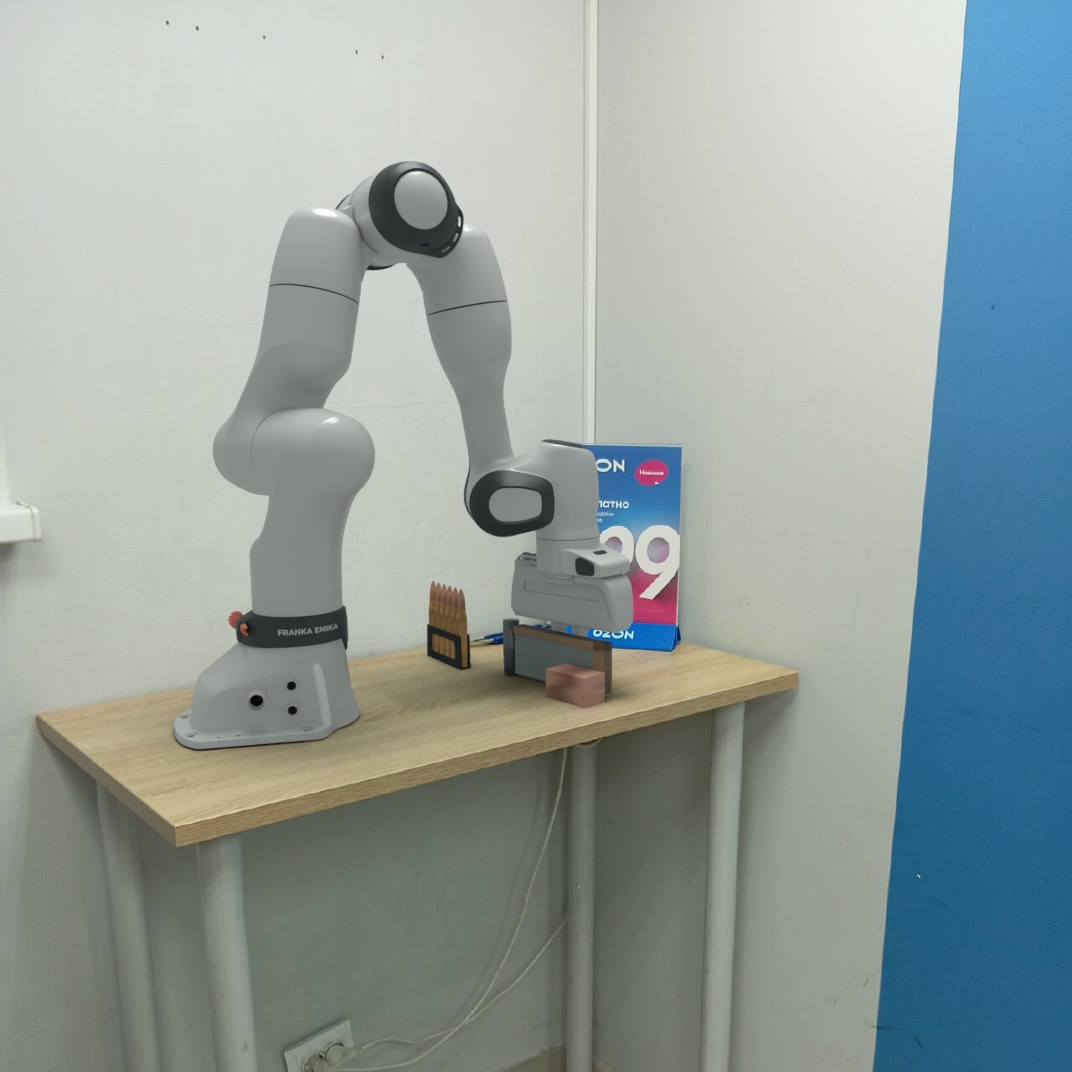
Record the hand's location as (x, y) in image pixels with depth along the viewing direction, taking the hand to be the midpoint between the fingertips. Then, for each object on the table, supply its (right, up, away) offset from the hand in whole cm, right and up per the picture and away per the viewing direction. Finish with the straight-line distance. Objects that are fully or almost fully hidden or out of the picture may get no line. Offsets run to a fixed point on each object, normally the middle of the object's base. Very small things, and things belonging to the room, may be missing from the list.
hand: (570, 654), depth 143 cm
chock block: (0, -5, -7) cm, 9 cm away
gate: (-1, -4, -1) cm, 4 cm away
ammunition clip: (-18, -3, +14) cm, 23 cm away
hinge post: (-8, -4, +6) cm, 11 cm away
